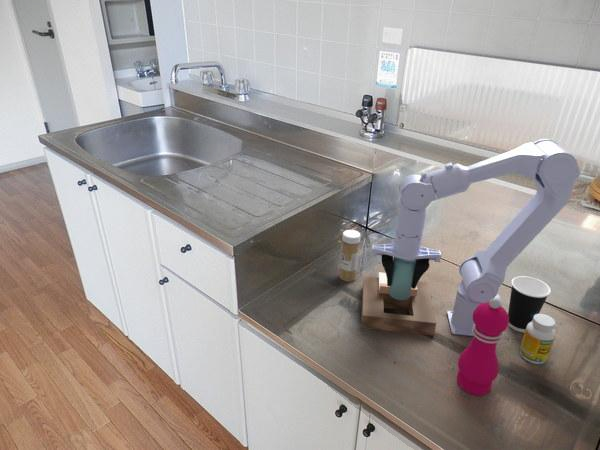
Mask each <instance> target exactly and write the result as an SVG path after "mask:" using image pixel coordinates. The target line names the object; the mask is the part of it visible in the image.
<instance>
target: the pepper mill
mask: <svg viewBox="0 0 600 450" xmlns="http://www.w3.org/2000/svg"><path fill="white" fill-rule="evenodd" d="M473 322H474V325H473V329H472V333H473V335H474V336H472V340H471V342H470V343H469V345H468V346H467V347H466V348H465V349H464V350H463V351H462V352H461V353H460V355H459V358H458V359H457V367H458V372H457V376H456V382H457V385H459V387H460V388H461V389H462V390H463V391H464V392H466V393H468V394H471V395H473V396H474V395H475V396H485V395H487V394H488V393H489V392H490V391H491V388H492V385H493V381H495V380H496V379H497V377H498V374H499V370H500V369H499V361H498V356H497V352H496V351H497V349H496V348H497V345H498V344H497V343H499V342H500V341H501V340H502V337H503V332H505V331H506V330H507V329H508V326H509V325H508V324H509V316H508V312H507V310H506V309H505V308H504V307H501V306H500V302H499V300H497V299H495V298H494V299H491V300H490V301H489V302H487V303H482V304H480V305H479V306H477V307H476V309H475V310H474V313H473Z"/></svg>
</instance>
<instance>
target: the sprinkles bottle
mask: <svg viewBox="0 0 600 450" xmlns="http://www.w3.org/2000/svg"><path fill="white" fill-rule="evenodd" d="M341 236H342V237H341V239H342V247H341V255H340V256H341V257H340V271H339V279H340V280H342V281H343V282H349V283H350V282H354V281H355V280H357V268H358V260H359V252H360V251H359V250H360V249H359V248H360V242H361V233H360V232H359V231H358V230H355V229H346V230H344V231H343V232H342V235H341Z"/></svg>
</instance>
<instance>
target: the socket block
mask: <svg viewBox="0 0 600 450" xmlns="http://www.w3.org/2000/svg"><path fill="white" fill-rule="evenodd" d="M416 287H417V289H418V290H417V296H416V297H414V296H410V298H408V299H406V300H398V299H395V298H393V297H391V296H390V294H384V293H379V277H375V276H365V275H364V276H363V282H362V298H361V299H362V301H361V325H360V326H361V327H360V328H361V329H368V330H369V329H370V330H378V331H379V330H380V331H386V332H398V333H406V334H413V335H414V334H415V335H424V336H431V337H432V336H435V332H436V327H437V319H436V315H435V311H434V310H435V309H434V304H433V300H432V295H431V289H430V285H429V282H426V281H420V280H419V281H418V283H417V285H416ZM385 309H390V310H391V309H392V310H400V311H401V310H402V311H409V314H408V315H407V314H398V313H397V314H396V313H388V312H384V311H385Z"/></svg>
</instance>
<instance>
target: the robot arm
mask: <svg viewBox="0 0 600 450" xmlns="http://www.w3.org/2000/svg"><path fill="white" fill-rule="evenodd" d="M511 174H517V175H521V176H523V177H526V178H529V179H531V180H534V181H535V182H534V183H535V188H536V193H535V194H534V195H533V196H532V198H531V199H530V200H529V201H528V202H526V204H525V205H524V206H523V207H522V209H520V211H519V212H518V213H517V214H516V215H515V216H514V217H513V219H512V220H511V221H510V222H509V223H508V224H507V226H506V227H505V228H504V229H503V230H502V231H501V232H500V233H499V235H498V236H497V237H496V238H495V239H494V240H493V241H492V243H490V245H489V246H487V248H486V249H484V250H483V249H482V250H477V251H476V252H475V253H474V254H473V255H472V256H469V257H468V258H466V259H465V260H463V261H462V262H461V264H460V265H459V268H458V271H459V275H460V277H461V281H460V283H459V285H458V287H457V291H456V295H455V299H454V305H453V309H452V310H447V311H446V315H447V319H448V323H449V328H450V331H451V332H450V333H451V334H452V335H460V336H466V337H467V336H469V337H473V336H474V335H473V333H472V329H473V325H474V322H473V313H474V310H475V309H476V307H477V306H479V305H480V304H482V303H487V302H489V301H490V300H491V299H494V298H495V299H497V300H499V302H500V306H501V307H502V305H503V303H502V297H501V295H500V294H498V292H499V289H500V287H501V285H503V284H504V282H505V278H506V272H507V268H508V267H509V266H510V265H511V263H512V262H513V261H514V260H515V259H517V257H518V256H519V255H520V254H522V252H523V251H524V250H525V249H526V248H527V247H528V245H529V244H531V242H532V241H533V240H534V239H535V238H537V236H538V235H539V234H540V233H541V232H542V231H543V230H544V228H545V227H547V225H549V223H550V222H551V221H553V219H554V218H555V217H556V216H557V215H558V214H559V212H561V210H562V209H564V208H565V206H566V205H567V204H568V203H569V202H570V198H571V195H572V192H573V189H574V186H575V182H576V181H577V179H578V178H579V177H580V176H581V172H580V168H579V164H578V161H577V158H576V157H575V156H574V155H573V154H571V153H569V152H567V151H566V150H565V149H564V148H562V147H561V146H559V144H558V143H557V142H556V141H555V140H553V139H549V138H541V139H538V140H536V141H534V142H527V143H523V144H522V145H520V146H518V147H516V148H513V149H511V150H510V151H506V152H504V153H503V152H502V153H501V154H497V155H496V156H492V157H490V158H486V159H484V160H481V161H479V162H476V163H472V164H470V165H468V166H464V165H462V164H460V163H455V164H453V162H448V163H445V164H444V167H442V168H438V169H435V170H432V171H429V172H426V171H421V172H420V174H410V175H407V176H405V177H404V179H402V180H401V182H400V184H399V185H398V191H399V193H400V198H399V199H400V200H399V203H398V209H397V214H396V222H395V229H394V237H393V243H385V244H384V243H383V244H372V245H371V257H378V256H381V264H382V267H383V269H384V271H385V272H384V273H386V276H387V286H391V274H392V269H393V259H394V257H397V258H401V259H405V260H414V259H415V260H416V264H415V270H414V277H413V283H412V289H415V288H416V285H417V283H418V281H419V282H420V279H421V278H422V277H423V275H424V274H425V273H426V272H427V271H428V270H429V268H430V261H434V262H435V263H441V258H442V253H441V250H440V249H434V248H433V249H432V248H429V247H425V246H422V241H423V240H422V239H423V233H424V229H425V222H426V217H427V213H426V211H427V208H428V207H429V206H430V204H431V203H432V202H434V201H437V200H441V199H444V198H448V197H451V196H454V195H459V194H460V193H465V192H466V191H468V189H469V188H470V186H471V184H474V183H477V182H482V181H483V182H484V181H486V180H490V179H491V180H492V179H495V178H498V177H503V176H506V175H511Z"/></svg>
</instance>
